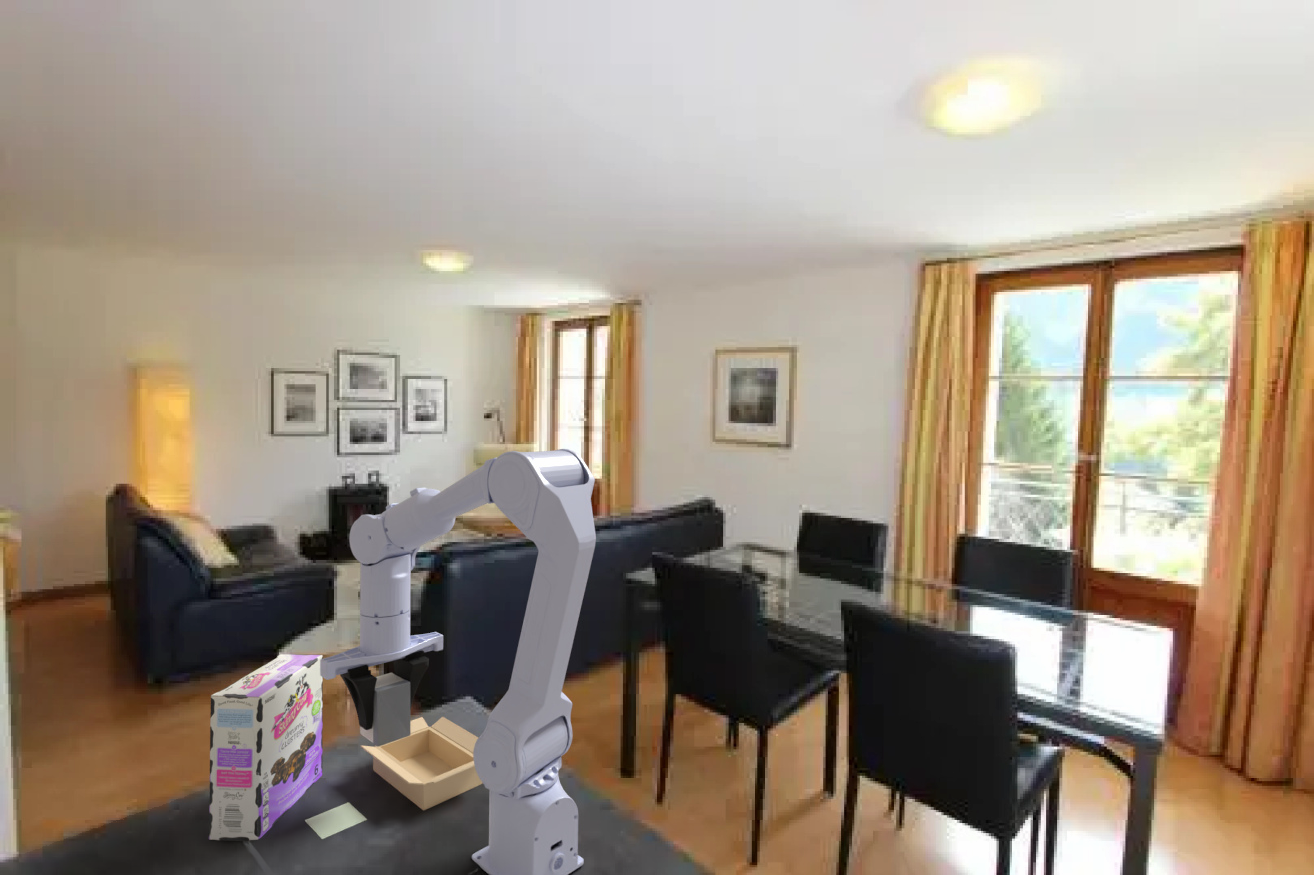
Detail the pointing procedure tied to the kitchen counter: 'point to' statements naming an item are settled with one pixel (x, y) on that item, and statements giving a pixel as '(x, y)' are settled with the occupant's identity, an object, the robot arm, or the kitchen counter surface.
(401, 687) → the block
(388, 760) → the carton
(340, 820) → the mat
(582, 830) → the kitchen counter surface
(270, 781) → the candy box
